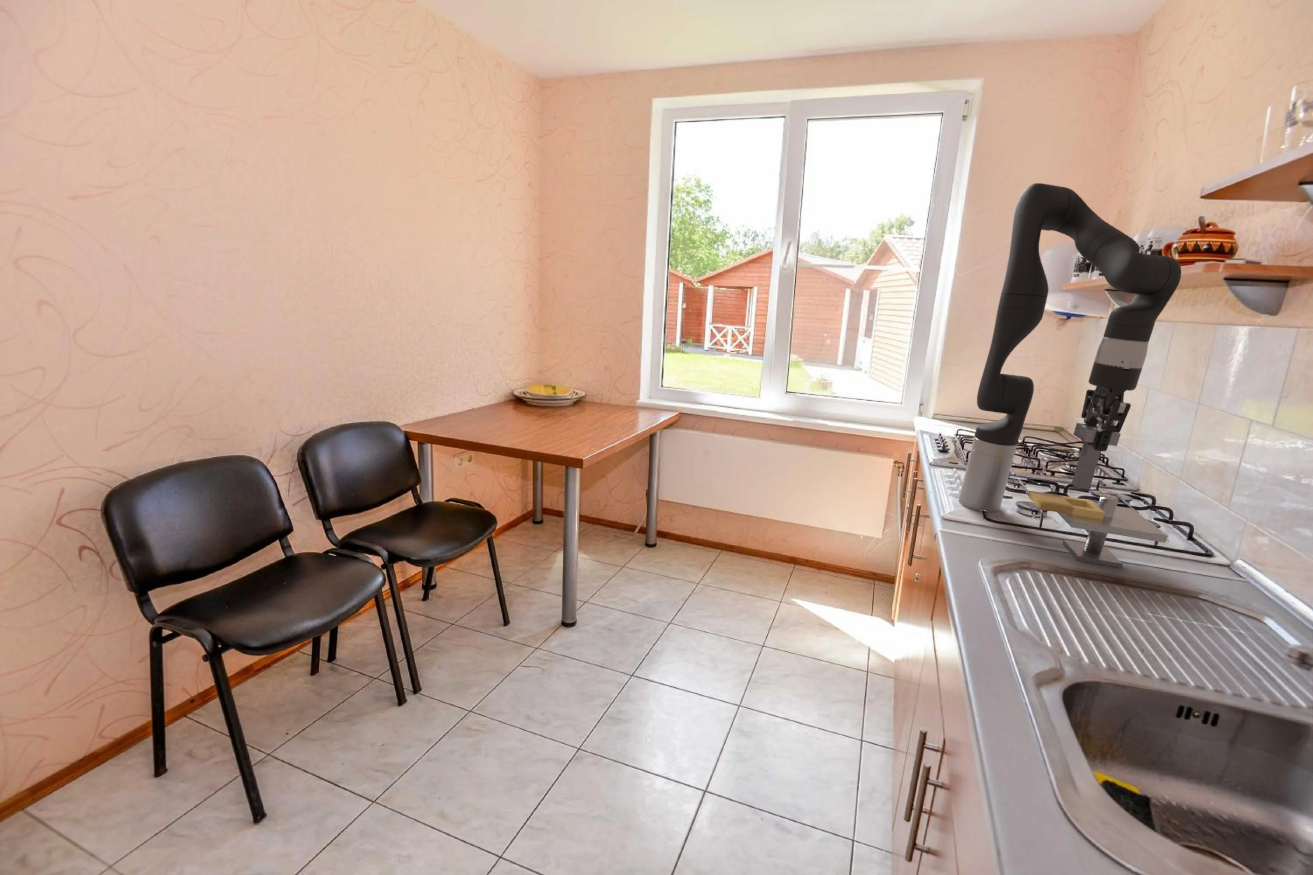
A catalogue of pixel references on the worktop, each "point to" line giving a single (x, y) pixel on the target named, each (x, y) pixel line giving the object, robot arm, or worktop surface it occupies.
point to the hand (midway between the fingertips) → (1092, 445)
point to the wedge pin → (1088, 454)
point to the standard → (1108, 531)
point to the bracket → (1066, 505)
